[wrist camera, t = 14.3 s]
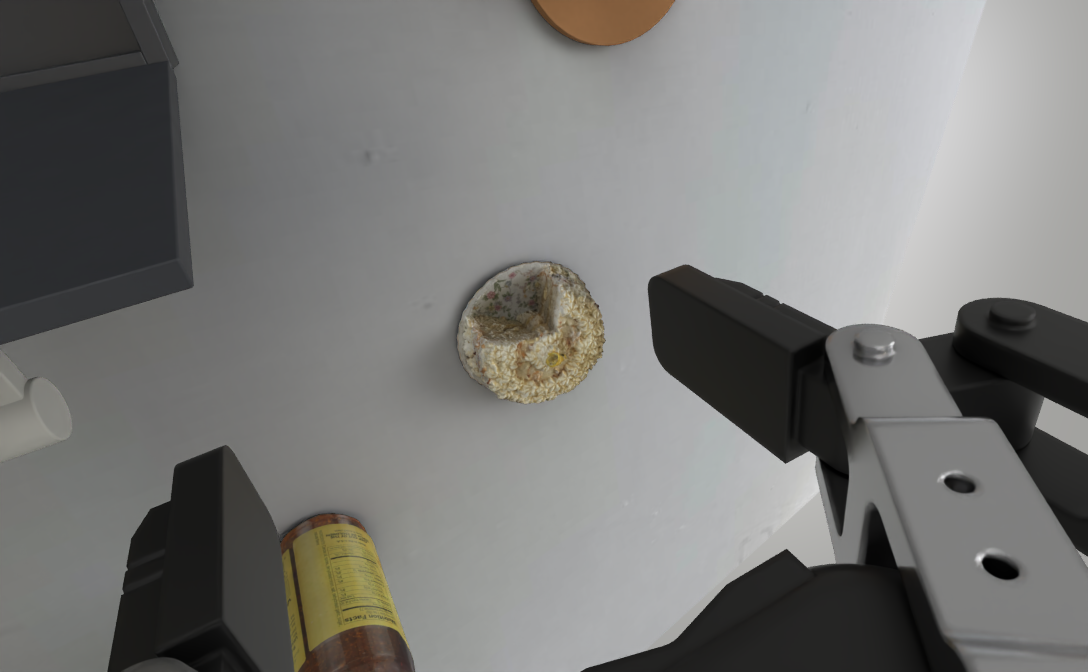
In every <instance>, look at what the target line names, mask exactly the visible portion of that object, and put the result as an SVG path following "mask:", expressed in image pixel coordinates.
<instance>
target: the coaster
mask: <svg viewBox="0 0 1088 672" xmlns="http://www.w3.org/2000/svg"><path fill="white" fill-rule="evenodd" d="M531 1H532V3H533V5H534V6H535V8H536V9H537V10H538V12H539V13H540V14H541V16H542V17H543V18H544V19H545V20H546V21H547V22H548V23H549V24H550V25H551V26H552V27H554V28H555V29H556V30H557V31H559V32H560V33H561V34H563V35H565V36H567V37H569V38H570V39H573V40H575V41H578V42H581V43H585V44H590V45H605V46H610V45H617V44H622V43H625V42H628V41H631V40H633V39H635V38H637V37H639V36H641V35H643V34H644V33H646V32H647V31H648V30H650V29H651V28H652V27H653V26H654V25H656V24H657V23H658V22H659V21H660V20H661V19H662V17H663V16H664V15H665V14H666V13H667V12H668V10H669V9H670V7H671V6H672V4H673V3H674V1H675V0H531Z"/></svg>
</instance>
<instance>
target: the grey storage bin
mask: <svg viewBox="0 0 1088 672" xmlns="http://www.w3.org/2000/svg"><path fill="white" fill-rule="evenodd" d="M165 61H168V62H169V63H170V65H171V67H172V69H173V68H174V67H176V66H177V65H178V64H179V62H178V59H177V57H176V55H175V52H174V50H173V48H172V45H171V43H170V41H169V38H168V36H167V34H166V31H165V29H164V27H163V24H162V22H161V20H160V17H159V15H158V13H157V10H156V8H155V6H154V3H153V1H152V0H0V93H3V92H8V91H13V90H18V89H24V88H29V87H34V86H39V85H45V84H50V83H55V82H60V81H65V80H71V79H76V78H81V77H86V76H92V75H97V74H102V73H107V72H112V71H118V70H123V69H128V68H133V67H139V66H144V65H149V64H154V63H159V62H165Z"/></svg>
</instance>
